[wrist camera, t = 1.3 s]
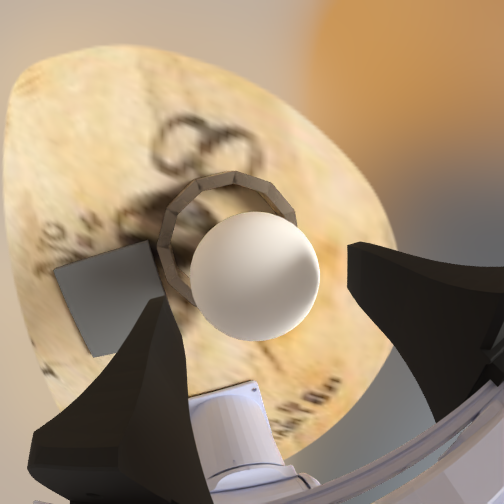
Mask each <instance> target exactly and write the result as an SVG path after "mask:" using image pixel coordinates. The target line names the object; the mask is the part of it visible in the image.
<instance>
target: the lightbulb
mask: <svg viewBox="0 0 504 504" xmlns="http://www.w3.org/2000/svg"><path fill="white" fill-rule="evenodd" d="M319 282H320V270H319V265H318V260H317V257H316V254H315V252H314V249H313V247H312V245H311V243H310V242H309V241H308V239H307V238H306V236H305V235H304V234H303V233H302V231H300V230H299V229H298V228H297V227H296V226H295V225H294V224H292V223H291V222H289V221H287V220H285V219H284V218H282V217H279V216H276V215H273V214H270V213H266V212H246V213H240V214H237V215H234V216H231V217H229V218H227V219H225V220H223V221H221V222H220V223H218V224H217V225H215V226H214V227H213V228H212V229H211V230H210V231H209V232H208V233H207V234H206V235H205V236H204V238H203V239H202V240H201V241H200V243H199V245H198V247H197V249H196V251H195V253H194V255H193V259H192V262H191V266H190V284H191V290H192V295H193V298H194V300H195V303H196V305H197V307H198V308H199V310H200V311H201V313H202V314H203V316H204V317H205V318H206V320H207V321H208V322H209V323H210V324H212V325H213V326H214V327H215V328H216V329H218V330H219V331H221V332H223V333H224V334H226V335H228V336H230V337H233V338H236V339H239V340H246V341H264V340H269V339H273V338H276V337H279V336H281V335H284V334H285V333H287V332H289V331H290V330H292V329H293V328H295V327H296V326H297V325H298V324H299V323H300V322H301V321H302V320H303V319H304V318H305V317H306V315H307V314H308V313H309V311H310V309H311V308H312V306H313V304H314V301H315V299H316V296H317V292H318V287H319Z"/></svg>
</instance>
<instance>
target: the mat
mask: <svg viewBox="0 0 504 504" xmlns="http://www.w3.org/2000/svg"><path fill="white" fill-rule="evenodd" d="M53 271H54V274H55V276H56V279H57V281H58V284H59V286H60V289H61V291H62V294H63V296H64V299H65V301H66V303H67V306H68V308H69V310H70V312H71V314H72V317H73V319H74V321H75V323H76V325H77V327H78V329H79V331H80V333H81V335H82V337H83V339H84V341H85V343H86V345H87V347H88V349H89V351H90V352H91V354H92V356H93V358H94V357H99V356H104V355H108V354H113V353H117V351H118V350H119V348H120V347H121V345H122V344H123V342H124V341H125V339H126V338H127V336H128V335H129V333H130V332H131V330H132V328H133V327H134V325H135V323H136V322H137V320H138V318H139V316H140V315H141V313H142V311H143V309H144V308H145V306H146V304H147V303H148V301H149V300H150V299H152V298H156V297H160V296H164V295H165V296H166V294H165V291H164V288H163V285H162V282H161V279H160V276H159V273H158V269H157V266H156V263H155V260H154V257H153V253H152V250H151V247H150V244H149V240H146V241H142V242H139V243H135V244H132V245H128V246H125V247H122V248H118V249H115V250H112V251H108V252H105V253H102V254H98V255H95V256H92V257H89V258H86V259H82V260H79V261H76V262H73V263H70V264H67V265H64V266H61V267H58V268H56V269H54V270H53ZM166 298H167V296H166ZM167 301H168V299H167ZM168 303H169V302H168ZM169 306H170V305H169ZM170 309H171V308H170ZM172 314H173V313H172Z"/></svg>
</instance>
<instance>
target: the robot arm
mask: <svg viewBox="0 0 504 504" xmlns="http://www.w3.org/2000/svg"><path fill="white" fill-rule="evenodd" d="M347 252H348V267H347V288H348V290H349V291H350V293H351V294H352V296H353V298H354V299H355V300H356V302H357V303H358V305H359V306H360V307H361V308H362V310H363V311H364V312H365V313H366V314H367V315H368V316H369V317H370V319H371V320H372V321H373V322H374V323H375V324H376V325H377V326H378V327H379V329H380V330H381V331H382V332H383V333H384V334H385V335H386V336H387V338H388V339H389V340H390V341H391V342H392V344H393V345H394V346H395V347H396V349H397V350H398V352H399V353H400V355H401V356H402V358H403V359H404V361H405V362H406V364H407V365H408V367H409V369H410V370H411V372H412V374H413V376H414V377H415V379H416V381H417V382H418V384H419V386H420V388H421V390H422V392H423V394H424V396H425V398H426V400H427V403H428V405H429V407H430V409H431V412H432V414H433V416H434V419H435V422H436V424H435V425H434V426H432V427H430V428H429V429H428V430H426V431H424V432H423V433H421V434H420V435H418V436H417V437H416V438H414V439H412V440H410V441H409V442H407V443H406V444H404V445H402V446H401V447H399V448H397V449H395V450H394V451H392V452H390V453H388V454H386V455H385V456H383V457H381V458H379V459H377V460H375V461H373V462H371V463H370V464H367V465H365V466H363V467H361V468H359V469H357V470H355V471H353V472H350V473H348V474H346V475H344V476H342V477H339V478H337V479H334V480H332V481H330V482H327V483H324V484H322V485H321V484H320V483H319V482H318V481H317V480H316V479H315V478H313V477H311V476H310V475H308V474H306V473H299V474H297V473H296V471H295V469H294V467H293V465H287V466H286V465H285V463H284V461H283V459H282V457H281V454H280V452H279V450H278V448H277V445H276V443H275V441H274V439H273V436H272V432H271V428H270V425H269V422H268V418H267V415H266V411H265V408H264V404H263V401H262V397H261V394H260V390H259V387H258V384H257V382H256V381H249V382H246V383H242V384H239V385H236V386H232V387H229V388H225V389H222V390H218V391H214V392H211V393H207V394H203V395H199V396H195V397H191V398H188V387H187V369H186V357H185V351H184V345H183V339H182V335H181V333H180V331H179V328H178V326H177V323H176V321H175V319H174V316H173V314H172V311H171V309H170V306H169V303H168V301H167V298H166V296H165V295H164V296H160V297H156V298H152V299H150V300H149V301H148V303H147V304H146V306H145V308H144V309H143V311H142V313H141V315H140V316H139V318H138V320H137V322H136V323H135V325H134V327H133V328H132V330H131V332H130V333H129V335H128V336H127V338H126V339H125V341H124V342H123V344H122V345H121V347H120V348H119V350H118V351H117V353H116V354H115V356H114V357H113V358H112V360H111V361H110V362H109V364H108V365H107V366H106V367H105V369H104V370H103V371H102V372H101V374H100V375H99V376H98V377H97V378H96V379H95V380H94V381H93V382H92V383H91V384H90V385H89V387H88V388H87V389H86V390H85V391H84V392H83V393H82V394H81V395H80V396H79V397H78V398H77V399H76V400H75V401H73V402H72V403H71V404H70V405H69V406H68V407H67V408H65V409H64V410H63V411H62V412H61V413H59V414H58V415H57V416H56V417H54V418H53V419H52V420H50V421H49V422H47V423H46V424H45V425H43V426H42V427H40V428H39V429H37V430H36V431H34V433H33V438H32V443H31V449H30V454H29V460H28V466H27V469H28V471H29V473H30V474H31V476H32V477H33V478H34V479H35V480H36V481H38V482H39V483H41V484H42V485H44V486H46V487H47V488H48V489H50V490H52V491H54V492H55V493H57V494H59V495H61V496H63V497H64V498H66V499H68V500H70V504H340V503H342V502H344V501H347V500H349V499H351V498H353V497H356V496H358V495H360V494H362V493H364V492H366V491H368V490H370V489H372V488H374V487H376V486H378V485H380V484H382V483H383V482H385V481H387V480H389V479H391V478H393V477H394V476H396V475H398V474H399V473H401V472H403V471H405V470H406V469H408V468H410V467H411V466H413V465H414V464H416V463H417V462H419V461H420V460H422V459H423V458H425V457H426V456H428V455H429V454H431V453H432V452H434V451H435V450H436V449H438V448H439V447H440V446H442V445H443V444H445V443H446V442H447V441H449V440H450V439H451V438H453V437H454V436H455V435H456V434H458V433H459V432H460V431H461V430H462V429H464V428H465V427H466V426H467V425H468V424H470V423H471V422H472V423H471V424H470V425H469V426H468V427H467V428H466V429H465V430H464V431H463V432H462V433H461V434H460V435H459V437H458V438H457V440H456V441H455V442H454V443H453V444H452V445H451V446H450V448H448V450H446V451H445V453H443V454H442V455H441V456H440V457H439V458H438V462H437V463H436V464H434V465H433V466H432V467H430V468H429V469H428V470H426V471H424V472H423V473H421V474H420V475H418V476H417V477H415V478H414V479H412V480H411V481H409V482H407V483H406V484H404V485H403V486H401V487H399V488H398V489H396V490H394V491H393V492H391V493H389V494H388V495H386V496H384V497H382V498H380V499H378V500H377V501H375V502H373V503H371V504H504V267H476V266H465V265H455V264H450V263H444V262H438V261H433V260H429V259H425V258H421V257H417V256H413V255H410V254H406V253H402V252H399V251H396V250H392V249H389V248H385V247H382V246H378V245H374V244H370V243H366V242H357V243H354V244H350V245H347ZM253 388H255V389H253ZM33 504H50V503H45V502H41V501H36V500H35V501H34V502H33Z"/></svg>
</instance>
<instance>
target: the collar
mask: <svg viewBox="0 0 504 504" xmlns="http://www.w3.org/2000/svg"><path fill="white" fill-rule="evenodd" d="M230 184H236V185H239V186H242V187H245V188H248V189H252V190H255V191H257V192H258V193H259V194H260V195H261V196H262V198H263V199H264V200H265V201H266V202H267V203H268V205H269V206H270V207H271V208H272V209H273V210H274V211H275V214H276V216H279V217H282V218H284V219H285V220H287V221H289V222H291V223H292V224H294V225H295V226H296V227H297V221H296V215H295V211H294V209H293V208H292V207H291V205H290V204H289V203H288V202H287V201H286V199H285V198H284V197H283V196H282V195H281V193H280V192H279V191H278V190H277V189H276V187H275V186H274V185H273V184H272V183H271V182H268V181H265V180H262V179H259V178H256V177H253V176H250V175H247V174H244V173H241V172H238V171H227V172H222V173H218V174H214V175H210V176H205V177H201V178H197V179H195V180H193V181H192V182H191V183H190V184H189V185H188V186H186V187H185V188H184V189H183V190H182V191H181V192H180V193H179V194H178V195H177V196H176V197H175V198H174V199H173V200H172V201H171V202H170V203H169V204H168V206H167V208H166V212H165V216H164V219H163V223H162V227H161V231H160V235H159V239H158V243H157V250H158V253H159V257H160V260H161V263H162V266H163V270H164V273H165V276H166V279H167V282H168V283H169V284H170V285H171V286H172V287H173V288H174V289H175V290H176V291H178V292H179V293H180V294H181V295H182V296H183V297H184V298H186V299H187V300H188V301H189V302H190V303H191V304H193V305H194V306H196V307H197V305H196V303H195V300H194V298H193V295H192V290H191V284H190V278H189V277H188V276H187V275H185V274H184V273H183V272H182V271H181V270H180V269H179V268H178V267H177V263H176V260H175V256H174V253H173V250H172V246H171V243H170V241H171V237H172V234H173V230H174V226H175V222H176V219H177V215H178V214H179V213H180V212H181V211H182V210H183V209H184V208H185V207H186V206H187V205H188V204H189V203H190V202H191V201H192V200H193V199H194V198H195V197H196V196H197V195H198V194H200V193H201V192H202V191H205V190H209V189H213V188H217V187H221V186H226V185H230ZM297 228H298V227H297Z"/></svg>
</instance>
